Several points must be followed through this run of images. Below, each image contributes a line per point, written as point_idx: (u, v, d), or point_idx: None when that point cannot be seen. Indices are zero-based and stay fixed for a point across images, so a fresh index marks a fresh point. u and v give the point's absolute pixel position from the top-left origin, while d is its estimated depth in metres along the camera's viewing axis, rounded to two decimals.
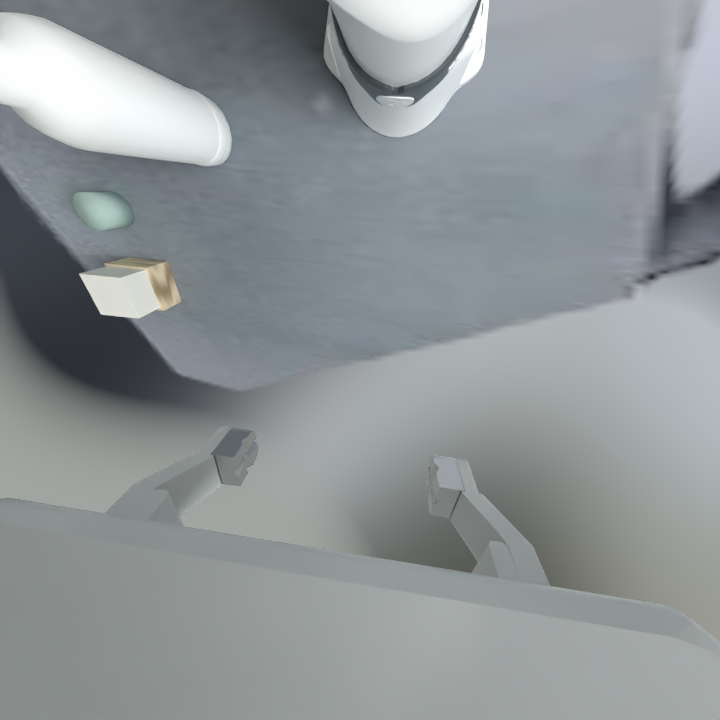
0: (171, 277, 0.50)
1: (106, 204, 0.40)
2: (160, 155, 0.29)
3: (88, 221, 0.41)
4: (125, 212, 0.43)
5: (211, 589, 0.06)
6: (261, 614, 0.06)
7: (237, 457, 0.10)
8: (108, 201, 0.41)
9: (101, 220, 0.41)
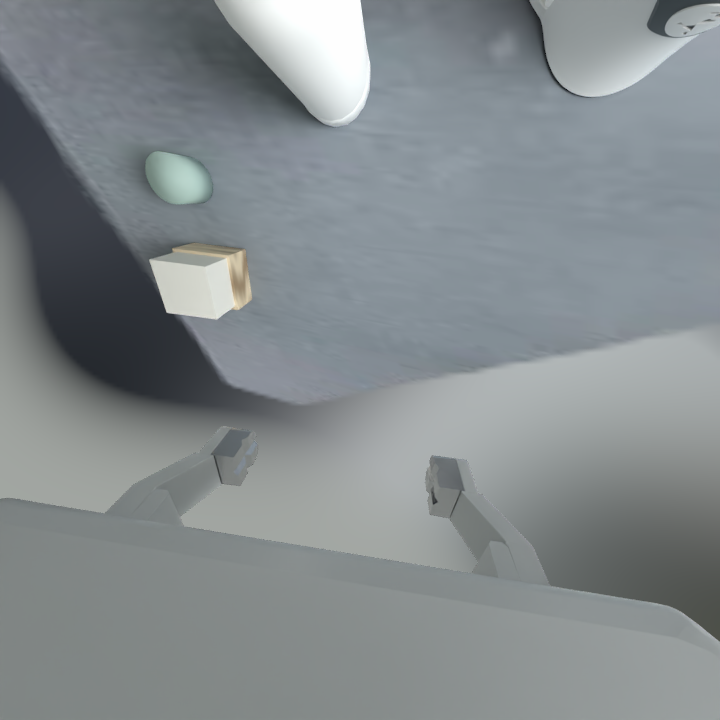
0: (246, 269, 0.41)
1: (189, 170, 0.31)
2: (326, 89, 0.20)
3: (163, 192, 0.32)
4: (206, 183, 0.34)
5: (211, 589, 0.06)
6: (261, 614, 0.06)
7: (237, 457, 0.10)
8: (190, 167, 0.31)
9: (181, 191, 0.31)
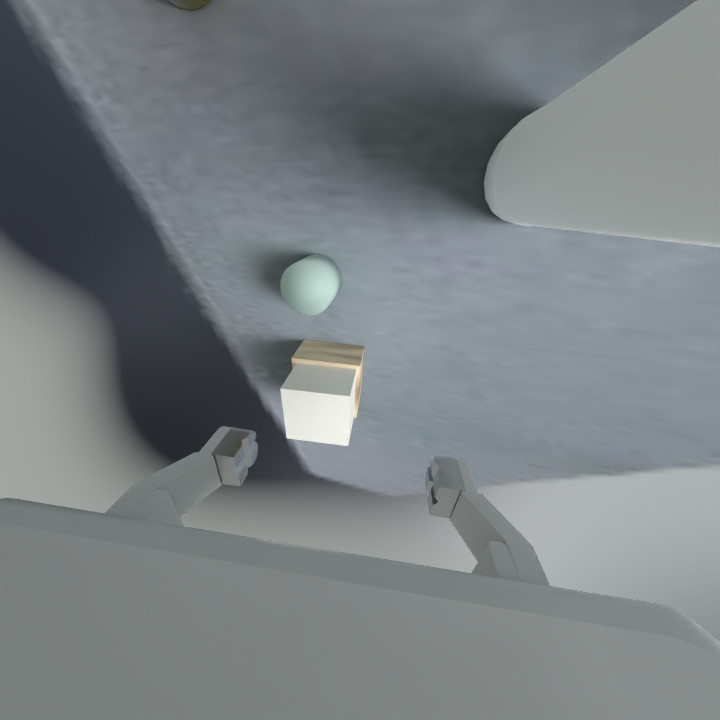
0: (362, 367, 0.34)
1: (332, 278, 0.25)
2: None
3: (296, 302, 0.26)
4: (338, 285, 0.28)
5: (211, 589, 0.06)
6: (261, 614, 0.06)
7: (237, 457, 0.10)
8: (331, 273, 0.26)
9: (319, 302, 0.26)
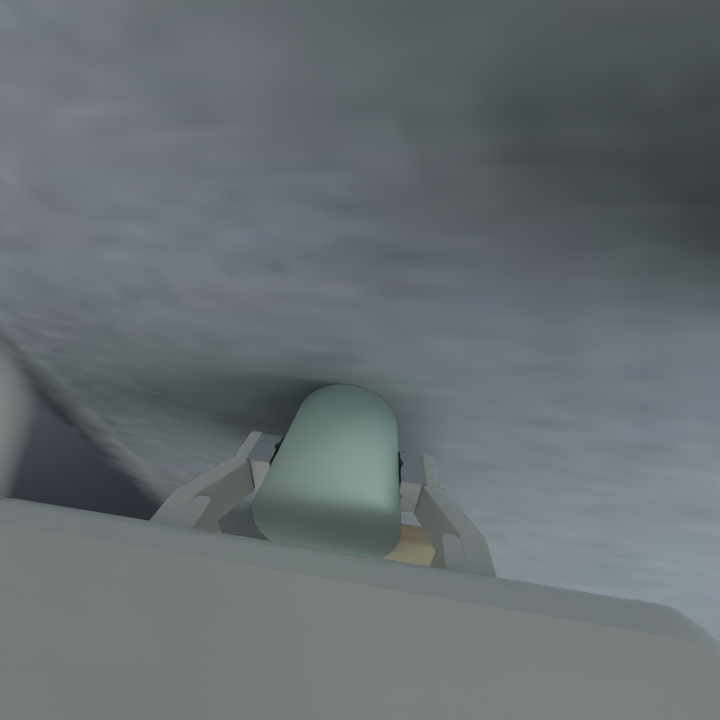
0: None
1: (397, 490, 0.09)
2: None
3: (296, 544, 0.10)
4: None
5: (211, 589, 0.06)
6: (261, 614, 0.06)
7: (271, 462, 0.10)
8: (392, 468, 0.09)
9: (360, 549, 0.09)
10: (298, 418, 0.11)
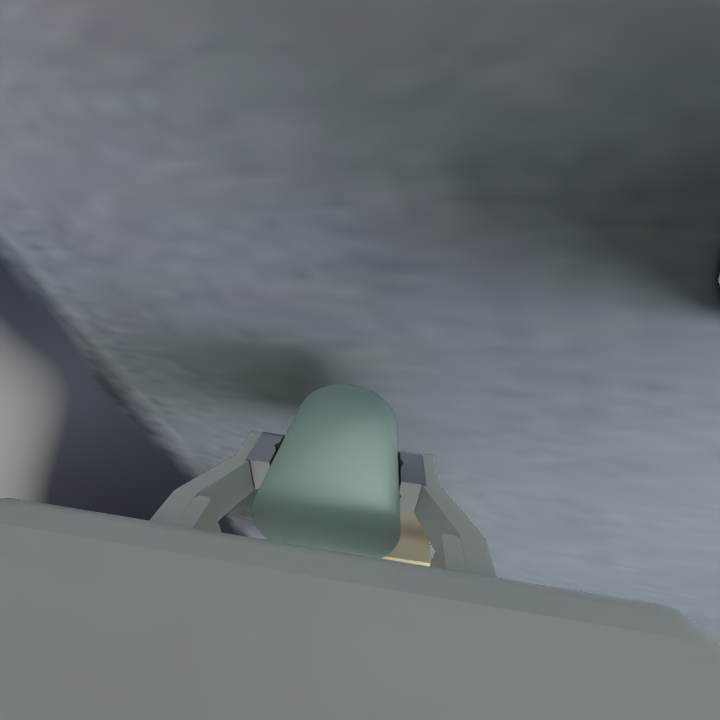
0: None
1: (396, 489, 0.09)
2: None
3: (297, 543, 0.10)
4: None
5: (211, 589, 0.06)
6: (261, 614, 0.06)
7: (271, 462, 0.10)
8: (392, 467, 0.10)
9: (360, 549, 0.09)
10: (298, 418, 0.11)
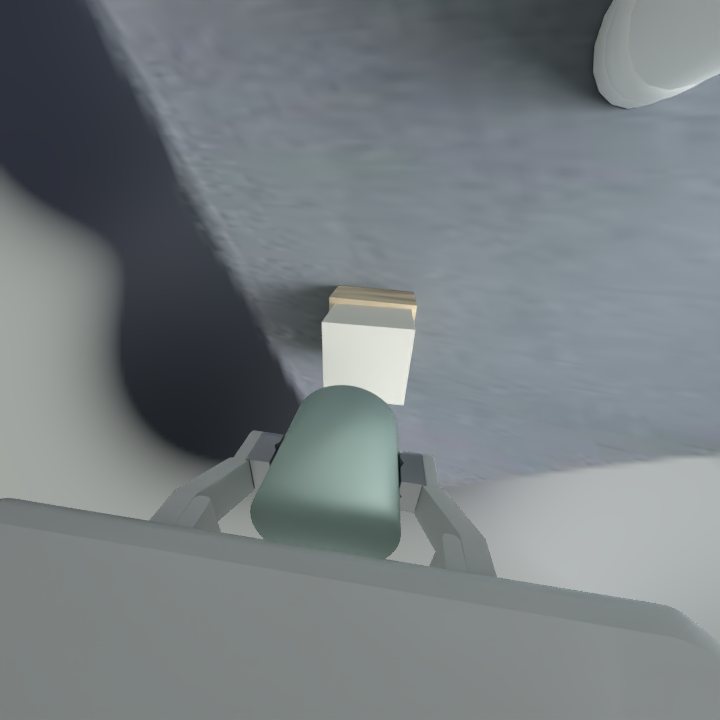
0: None
1: (396, 491, 0.09)
2: None
3: None
4: None
5: (211, 589, 0.06)
6: (261, 614, 0.06)
7: (271, 462, 0.10)
8: (392, 469, 0.09)
9: (360, 551, 0.09)
10: (297, 419, 0.11)
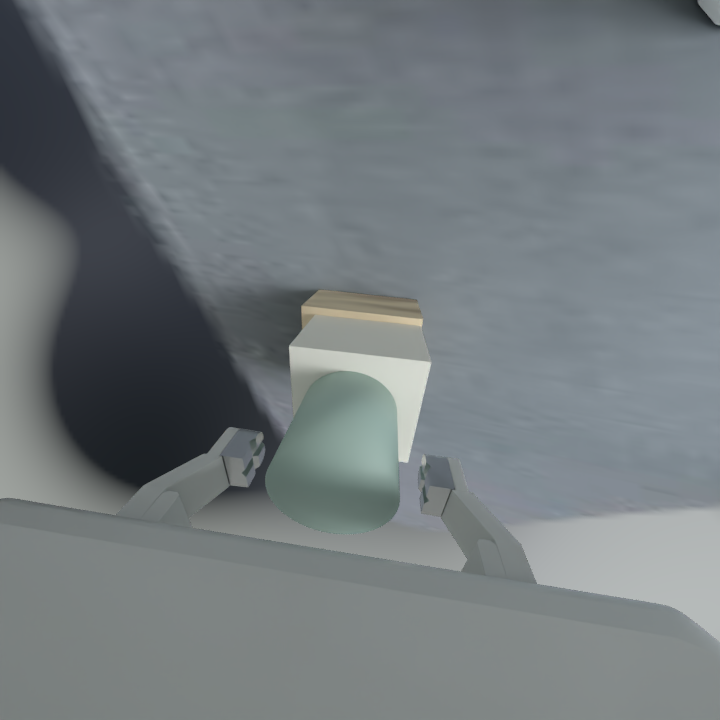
0: None
1: (396, 462, 0.10)
2: None
3: (305, 513, 0.11)
4: None
5: (211, 589, 0.06)
6: (261, 614, 0.06)
7: (245, 458, 0.10)
8: (392, 444, 0.10)
9: (363, 517, 0.10)
10: (305, 401, 0.12)
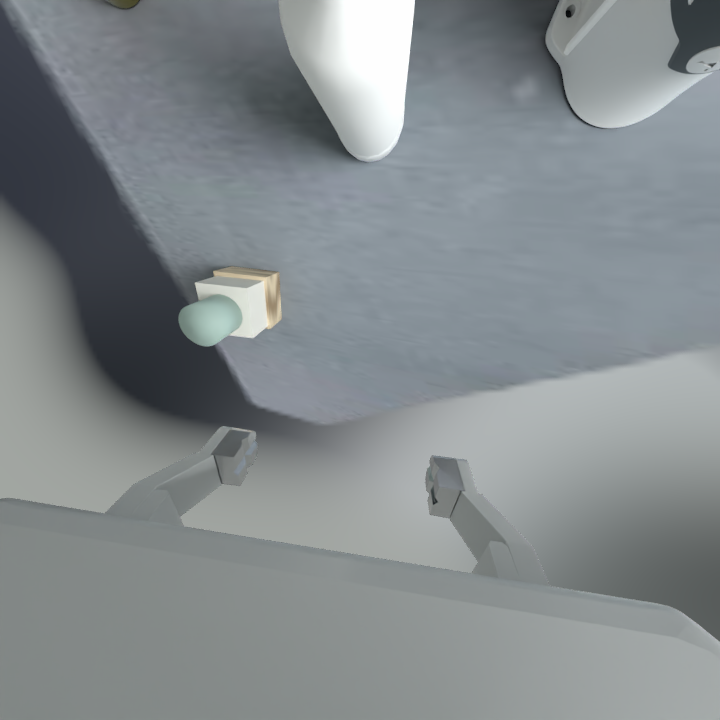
0: (279, 290, 0.42)
1: (222, 317, 0.31)
2: (374, 129, 0.22)
3: (194, 336, 0.31)
4: (236, 320, 0.34)
5: (211, 589, 0.06)
6: (261, 614, 0.06)
7: (237, 457, 0.10)
8: (223, 312, 0.31)
9: (212, 336, 0.31)
10: None
